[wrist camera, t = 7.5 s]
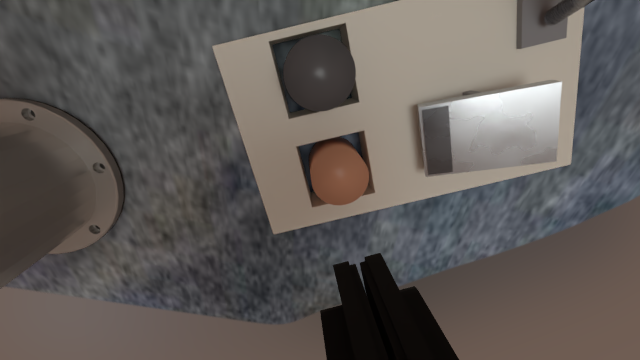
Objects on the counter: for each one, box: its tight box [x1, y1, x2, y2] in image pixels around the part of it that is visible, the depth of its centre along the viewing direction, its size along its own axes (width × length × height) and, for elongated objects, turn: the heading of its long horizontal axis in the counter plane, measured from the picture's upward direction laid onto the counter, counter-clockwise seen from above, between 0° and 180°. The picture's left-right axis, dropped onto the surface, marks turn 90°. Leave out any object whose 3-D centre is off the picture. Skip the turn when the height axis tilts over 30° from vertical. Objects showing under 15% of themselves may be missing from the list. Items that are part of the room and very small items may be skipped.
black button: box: [283, 35, 356, 111], centre depth 19 cm, size 4×4×4 cm
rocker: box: [417, 80, 562, 177], centre depth 20 cm, size 8×5×1 cm, turn 103°
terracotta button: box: [309, 137, 369, 205], centre depth 23 cm, size 4×4×4 cm
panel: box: [212, 0, 584, 234], centre depth 22 cm, size 24×14×4 cm, turn 103°
